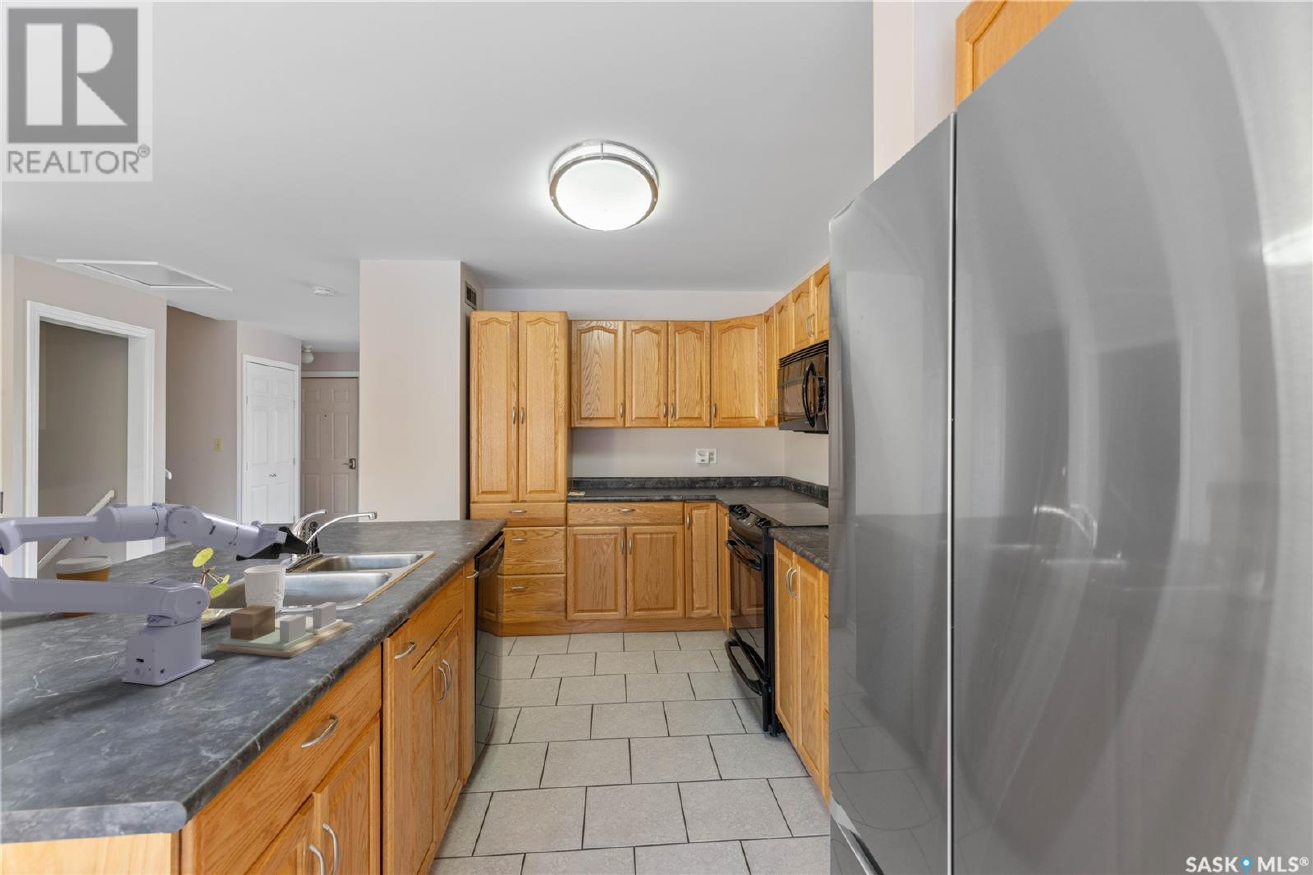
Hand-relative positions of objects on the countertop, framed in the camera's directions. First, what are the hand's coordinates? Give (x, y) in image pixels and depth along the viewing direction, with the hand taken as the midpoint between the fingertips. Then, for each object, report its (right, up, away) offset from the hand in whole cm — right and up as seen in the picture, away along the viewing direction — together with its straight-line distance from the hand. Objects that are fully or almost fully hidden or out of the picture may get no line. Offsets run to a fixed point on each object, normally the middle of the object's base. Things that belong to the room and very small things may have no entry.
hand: (292, 551), depth 116 cm
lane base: (+2, -17, -3) cm, 17 cm away
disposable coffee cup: (-55, -16, +11) cm, 58 cm away
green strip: (0, -16, -7) cm, 17 cm away
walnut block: (-3, -15, -6) cm, 17 cm away
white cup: (-15, -17, +13) cm, 26 cm away
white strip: (+1, -16, +1) cm, 16 cm away
